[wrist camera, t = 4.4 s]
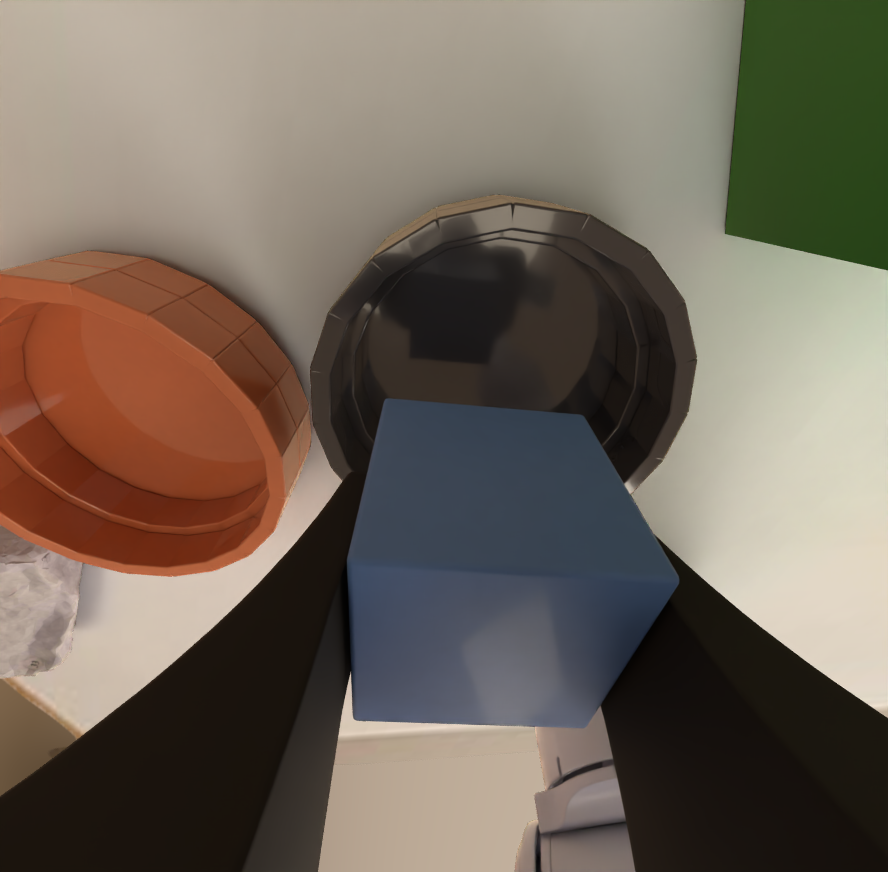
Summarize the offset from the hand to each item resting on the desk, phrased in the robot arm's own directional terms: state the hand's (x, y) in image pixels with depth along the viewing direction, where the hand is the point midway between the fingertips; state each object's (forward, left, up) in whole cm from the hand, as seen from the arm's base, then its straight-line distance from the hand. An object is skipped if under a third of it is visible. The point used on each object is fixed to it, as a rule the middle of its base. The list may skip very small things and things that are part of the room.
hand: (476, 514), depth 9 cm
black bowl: (-1, -1, -8) cm, 8 cm away
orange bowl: (+10, +6, -8) cm, 14 cm away
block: (0, 0, -1) cm, 1 cm away
